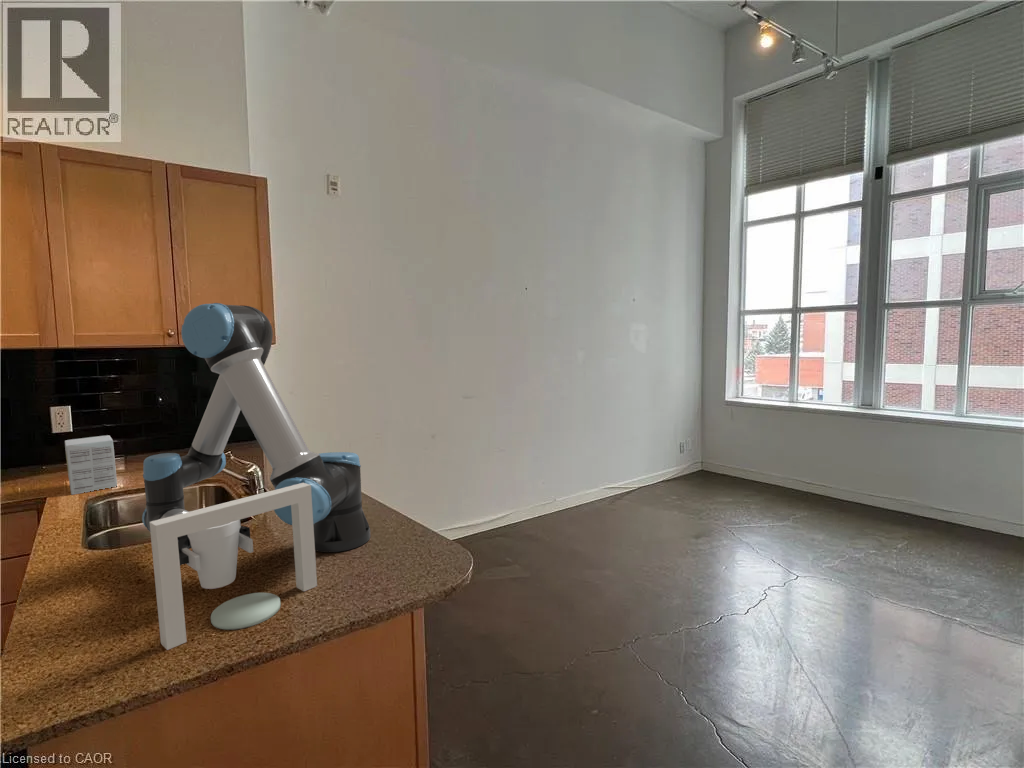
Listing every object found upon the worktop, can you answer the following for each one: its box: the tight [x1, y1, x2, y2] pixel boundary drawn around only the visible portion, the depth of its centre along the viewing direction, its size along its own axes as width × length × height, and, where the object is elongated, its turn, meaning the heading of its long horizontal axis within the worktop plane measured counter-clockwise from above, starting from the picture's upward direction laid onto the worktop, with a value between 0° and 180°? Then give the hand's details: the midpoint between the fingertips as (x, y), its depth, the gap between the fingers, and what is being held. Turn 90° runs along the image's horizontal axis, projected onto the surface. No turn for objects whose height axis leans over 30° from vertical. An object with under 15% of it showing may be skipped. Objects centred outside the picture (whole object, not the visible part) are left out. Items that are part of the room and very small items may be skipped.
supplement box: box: [64, 434, 118, 495], centre depth 188 cm, size 13×13×18 cm
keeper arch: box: [149, 483, 318, 651], centre depth 100 cm, size 28×12×22 cm, turn 141°
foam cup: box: [187, 519, 242, 590], centre depth 108 cm, size 10×9×13 cm
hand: (225, 554), depth 105 cm, fingers closed on foam cup, 9 cm apart
